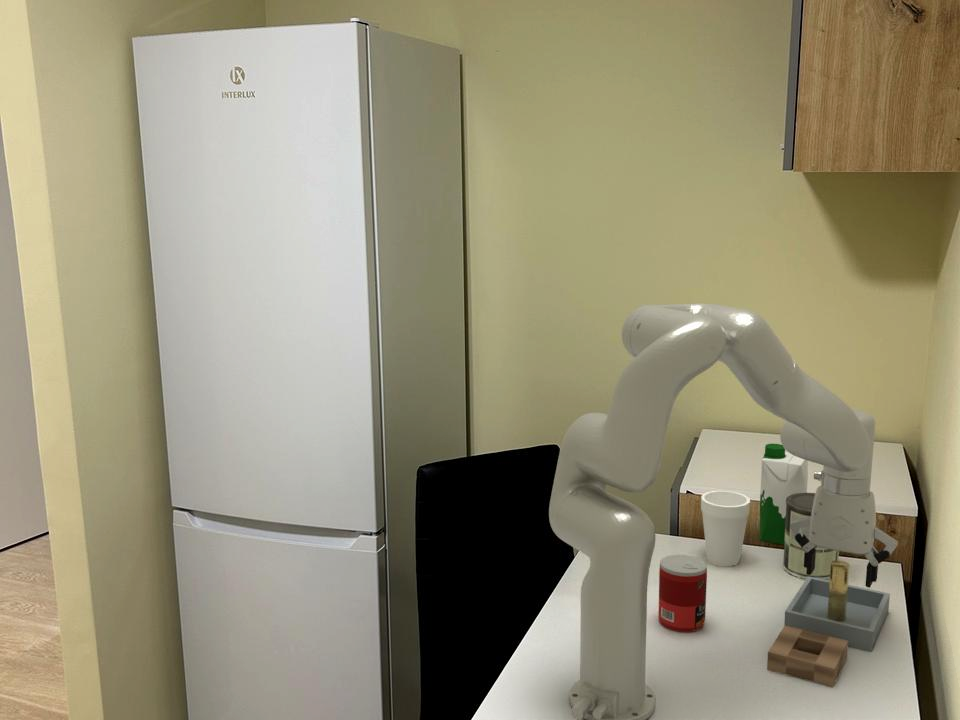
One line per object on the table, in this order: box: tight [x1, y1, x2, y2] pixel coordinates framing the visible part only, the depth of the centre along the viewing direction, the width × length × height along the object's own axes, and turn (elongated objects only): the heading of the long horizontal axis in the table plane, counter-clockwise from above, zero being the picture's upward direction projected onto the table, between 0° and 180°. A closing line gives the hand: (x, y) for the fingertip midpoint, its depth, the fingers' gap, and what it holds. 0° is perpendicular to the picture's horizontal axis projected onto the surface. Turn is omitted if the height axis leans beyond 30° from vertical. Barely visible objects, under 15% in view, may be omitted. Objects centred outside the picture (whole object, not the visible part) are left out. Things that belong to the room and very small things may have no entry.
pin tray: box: [783, 576, 891, 653], centre depth 162 cm, size 16×14×4 cm
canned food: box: [658, 554, 708, 633], centre depth 161 cm, size 8×8×11 cm
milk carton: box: [759, 443, 809, 545], centre depth 196 cm, size 9×9×20 cm
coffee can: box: [782, 492, 840, 581], centre depth 181 cm, size 10×10×14 cm
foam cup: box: [700, 490, 751, 567], centre depth 186 cm, size 10×9×13 cm
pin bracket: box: [766, 626, 849, 688], centre depth 148 cm, size 10×10×3 cm
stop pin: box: [827, 559, 850, 622], centre depth 161 cm, size 3×3×10 cm
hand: (839, 578), depth 160 cm, fingers open, 9 cm apart
